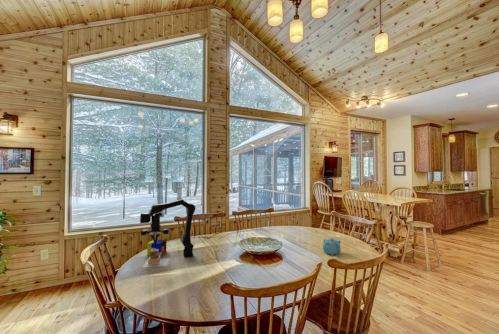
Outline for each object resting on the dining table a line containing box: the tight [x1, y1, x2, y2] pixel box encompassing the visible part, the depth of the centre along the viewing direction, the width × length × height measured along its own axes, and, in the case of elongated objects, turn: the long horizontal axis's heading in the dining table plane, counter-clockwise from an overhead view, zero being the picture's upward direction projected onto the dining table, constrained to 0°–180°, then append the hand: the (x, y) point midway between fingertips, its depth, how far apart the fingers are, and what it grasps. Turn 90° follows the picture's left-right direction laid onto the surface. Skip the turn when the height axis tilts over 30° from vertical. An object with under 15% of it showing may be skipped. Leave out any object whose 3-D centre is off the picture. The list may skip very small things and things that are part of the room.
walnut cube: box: [149, 249, 159, 259], centre depth 169 cm, size 5×5×5 cm
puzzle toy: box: [146, 238, 167, 256], centre depth 185 cm, size 10×10×10 cm
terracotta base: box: [147, 255, 161, 264], centre depth 169 cm, size 7×7×3 cm
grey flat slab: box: [142, 257, 171, 268], centre depth 167 cm, size 16×14×1 cm
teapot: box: [322, 237, 342, 256], centre depth 191 cm, size 20×17×12 cm
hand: (155, 243), depth 173 cm, fingers closed
